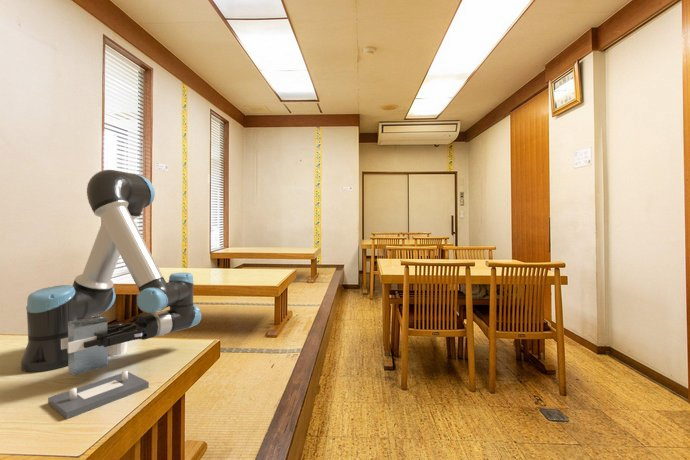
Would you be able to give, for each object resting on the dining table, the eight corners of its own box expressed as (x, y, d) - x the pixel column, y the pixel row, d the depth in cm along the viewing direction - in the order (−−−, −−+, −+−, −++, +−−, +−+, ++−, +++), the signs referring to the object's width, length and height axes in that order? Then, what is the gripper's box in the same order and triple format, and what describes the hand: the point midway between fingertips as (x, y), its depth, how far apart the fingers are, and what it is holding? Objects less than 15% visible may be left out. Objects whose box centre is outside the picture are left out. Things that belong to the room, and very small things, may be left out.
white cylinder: (116, 348, 123) (116, 328, 123) (133, 349, 122) (133, 329, 122) (99, 355, 117) (99, 334, 116) (117, 357, 115) (116, 336, 115)
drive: (68, 372, 96) (68, 321, 96) (101, 362, 103) (101, 315, 103) (74, 375, 94) (73, 324, 94) (107, 365, 101) (107, 317, 100)
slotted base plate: (48, 403, 86) (47, 387, 86) (127, 376, 101) (126, 362, 100) (66, 419, 79) (66, 401, 79) (148, 387, 94) (148, 372, 94)
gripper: (167, 342, 109) (77, 367, 89) (140, 331, 118) (53, 353, 99) (167, 318, 108) (77, 338, 89) (139, 309, 118) (53, 326, 99)
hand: (64, 346), depth 94 cm, fingers closed on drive, 4 cm apart
